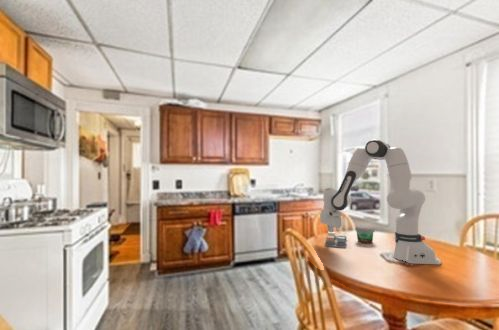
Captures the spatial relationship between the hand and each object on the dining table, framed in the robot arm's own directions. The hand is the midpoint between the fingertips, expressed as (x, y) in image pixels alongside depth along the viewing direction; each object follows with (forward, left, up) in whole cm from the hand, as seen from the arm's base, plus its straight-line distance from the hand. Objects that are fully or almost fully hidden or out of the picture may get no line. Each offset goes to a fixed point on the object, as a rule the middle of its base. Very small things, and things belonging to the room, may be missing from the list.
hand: (330, 231), depth 182 cm
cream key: (0, -14, -6) cm, 15 cm away
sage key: (-7, -14, -7) cm, 17 cm away
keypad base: (-4, -7, -8) cm, 11 cm away
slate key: (-7, 0, -6) cm, 9 cm away
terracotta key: (0, 0, -6) cm, 6 cm away
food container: (-23, -11, -9) cm, 27 cm away
